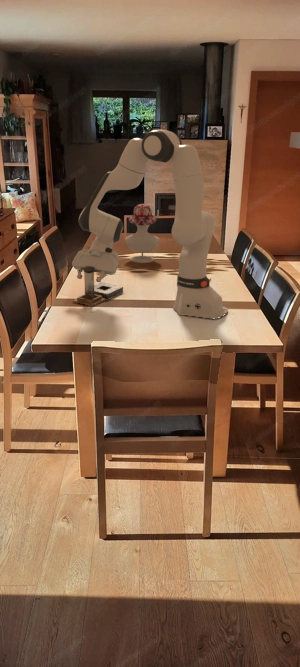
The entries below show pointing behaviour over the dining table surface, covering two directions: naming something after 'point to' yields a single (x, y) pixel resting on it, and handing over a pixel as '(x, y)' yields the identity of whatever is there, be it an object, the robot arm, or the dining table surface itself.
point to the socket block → (107, 290)
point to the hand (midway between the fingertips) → (88, 279)
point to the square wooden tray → (89, 302)
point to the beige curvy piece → (142, 234)
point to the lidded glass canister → (89, 282)
